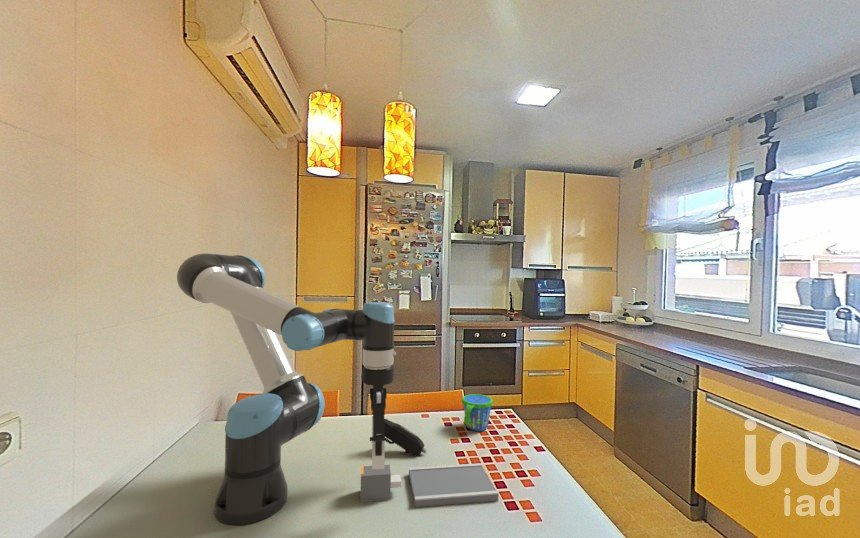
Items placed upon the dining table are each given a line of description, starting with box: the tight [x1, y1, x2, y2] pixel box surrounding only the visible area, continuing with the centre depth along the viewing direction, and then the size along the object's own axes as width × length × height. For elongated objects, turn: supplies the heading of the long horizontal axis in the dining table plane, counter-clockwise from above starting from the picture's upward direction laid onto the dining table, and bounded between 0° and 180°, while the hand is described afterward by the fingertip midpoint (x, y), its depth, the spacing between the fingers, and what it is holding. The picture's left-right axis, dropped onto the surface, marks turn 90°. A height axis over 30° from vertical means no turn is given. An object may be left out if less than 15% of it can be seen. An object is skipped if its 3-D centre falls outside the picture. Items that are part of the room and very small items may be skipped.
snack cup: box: [461, 393, 494, 432], centre depth 131 cm, size 16×10×10 cm
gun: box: [384, 418, 428, 457], centre depth 112 cm, size 3×16×10 cm, turn 78°
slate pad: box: [408, 463, 499, 508], centre depth 93 cm, size 20×14×2 cm
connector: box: [359, 463, 402, 503], centre depth 90 cm, size 10×4×6 cm, turn 99°
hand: (377, 454), depth 89 cm, fingers open, 13 cm apart
